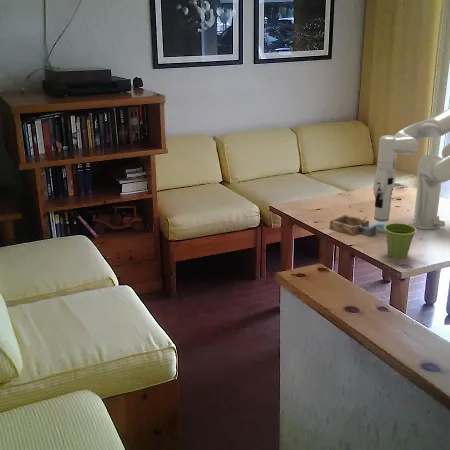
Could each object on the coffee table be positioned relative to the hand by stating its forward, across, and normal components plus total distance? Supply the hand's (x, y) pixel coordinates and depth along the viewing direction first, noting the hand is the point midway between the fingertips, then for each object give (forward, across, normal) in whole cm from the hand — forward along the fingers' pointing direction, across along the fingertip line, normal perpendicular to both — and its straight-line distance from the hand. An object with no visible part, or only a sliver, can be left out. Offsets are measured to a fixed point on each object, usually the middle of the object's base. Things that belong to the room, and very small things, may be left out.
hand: (382, 205), depth 241 cm
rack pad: (+10, -1, +1) cm, 10 cm away
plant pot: (+11, +22, +21) cm, 32 cm away
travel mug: (+7, 0, 0) cm, 7 cm away
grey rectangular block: (+10, +10, -2) cm, 15 cm away
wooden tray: (+11, +10, -9) cm, 18 cm away
